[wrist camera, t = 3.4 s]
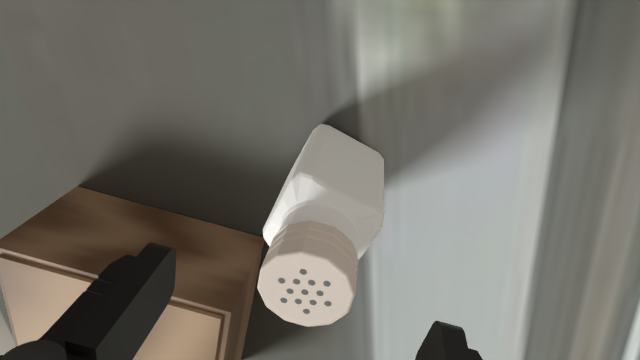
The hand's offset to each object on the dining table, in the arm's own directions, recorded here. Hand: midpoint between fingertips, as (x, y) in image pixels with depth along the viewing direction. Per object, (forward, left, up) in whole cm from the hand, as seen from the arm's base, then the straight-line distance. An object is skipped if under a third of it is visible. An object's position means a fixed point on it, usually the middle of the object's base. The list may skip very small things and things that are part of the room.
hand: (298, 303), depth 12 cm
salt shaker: (0, 0, -10) cm, 10 cm away
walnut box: (+9, +12, -10) cm, 18 cm away
